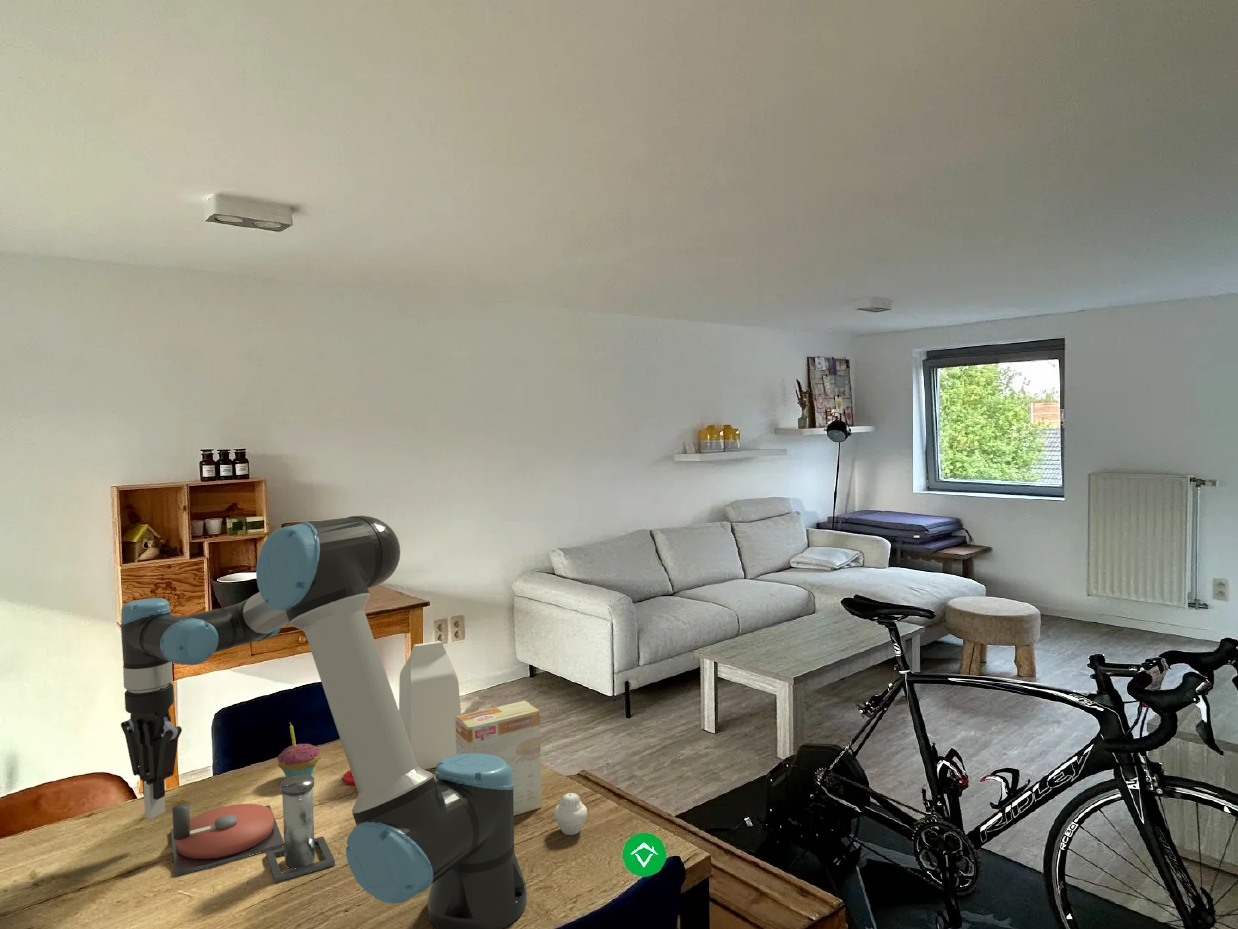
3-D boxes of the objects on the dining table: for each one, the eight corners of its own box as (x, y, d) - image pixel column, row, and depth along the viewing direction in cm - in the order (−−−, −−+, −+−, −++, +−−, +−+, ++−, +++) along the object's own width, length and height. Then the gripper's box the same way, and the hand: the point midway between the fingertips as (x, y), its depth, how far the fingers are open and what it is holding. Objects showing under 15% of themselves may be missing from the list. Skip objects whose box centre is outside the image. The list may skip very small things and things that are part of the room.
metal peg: (319, 863, 136) (316, 783, 135) (286, 873, 133) (283, 792, 132) (313, 849, 140) (310, 772, 140) (280, 858, 137) (277, 779, 137)
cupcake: (269, 785, 166) (267, 729, 165) (296, 767, 174) (294, 714, 173) (303, 790, 163) (301, 733, 163) (330, 772, 171) (328, 718, 171)
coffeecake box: (527, 794, 160) (525, 699, 159) (543, 808, 154) (541, 710, 153) (456, 814, 152) (454, 715, 151) (470, 830, 146) (468, 727, 145)
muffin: (547, 834, 144) (546, 796, 144) (566, 819, 150) (565, 783, 149) (576, 843, 141) (575, 804, 141) (594, 827, 146) (593, 790, 146)
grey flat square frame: (335, 865, 135) (335, 860, 135) (274, 883, 130) (274, 878, 130) (323, 840, 143) (323, 836, 143) (265, 856, 138) (265, 852, 138)
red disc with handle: (267, 805, 155) (265, 769, 155) (280, 841, 141) (279, 802, 141) (171, 828, 146) (170, 791, 146) (176, 869, 133) (174, 828, 132)
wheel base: (284, 846, 141) (284, 843, 141) (175, 876, 132) (175, 873, 132) (269, 808, 156) (269, 805, 156) (170, 832, 147) (170, 829, 147)
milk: (410, 772, 171) (407, 654, 169) (398, 753, 181) (394, 641, 179) (464, 760, 176) (461, 645, 175) (449, 742, 186) (446, 634, 185)
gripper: (193, 684, 142) (199, 811, 144) (143, 675, 147) (149, 799, 149) (154, 697, 135) (160, 831, 137) (104, 688, 141) (110, 818, 142)
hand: (155, 814), depth 143 cm, fingers closed
